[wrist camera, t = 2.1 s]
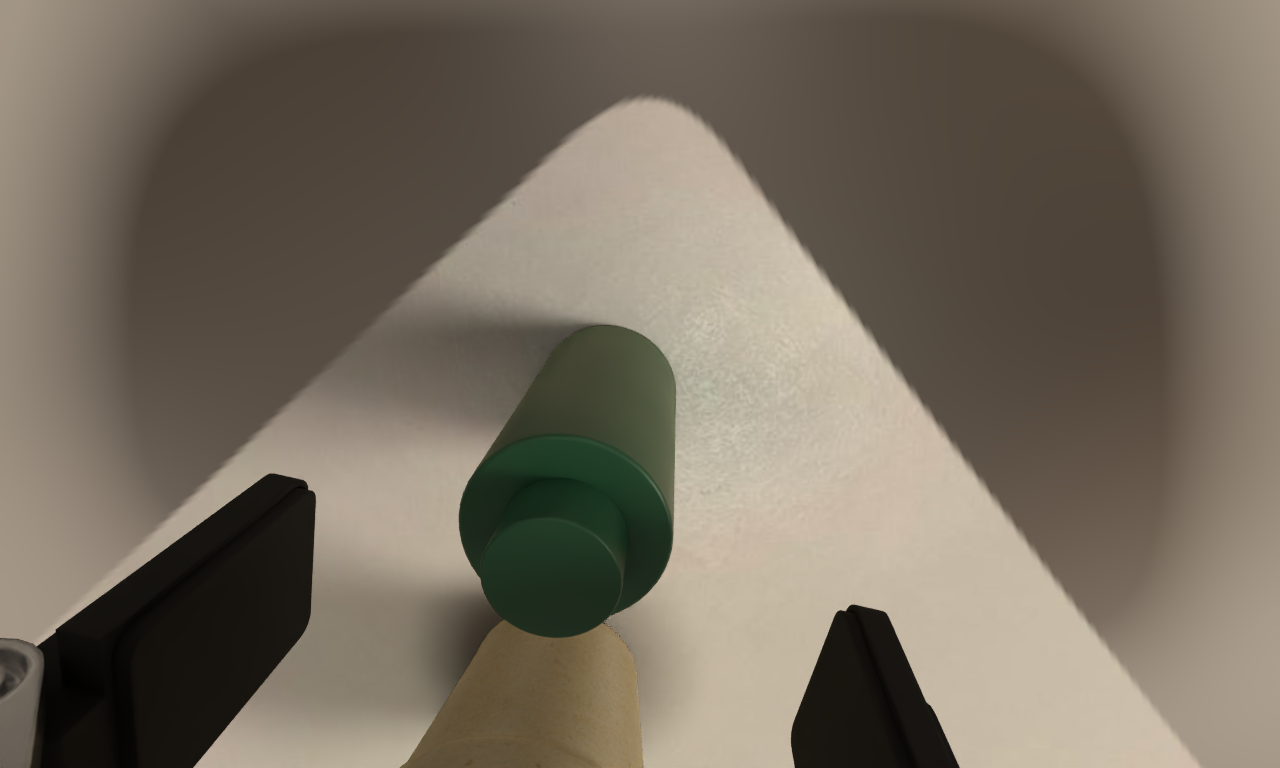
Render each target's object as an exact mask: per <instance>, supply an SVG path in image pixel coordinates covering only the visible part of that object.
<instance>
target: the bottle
mask: <svg viewBox="0 0 1280 768" xmlns="http://www.w3.org/2000/svg"><path fill="white" fill-rule="evenodd" d="M675 413H676V385H675V379H674V375H673V372H672V369H671V367H670V365H669V362H668V360H667V359H666V357H665V356H664V354H663V353H662V352H661V351H660V350H659V348H658V347H657V346H656V345H655V344H653V343H652V342H651V341H650V340H649V339H647V338H646V337H644V336H643V335H641V334H639V333H637V332H635V331H632V330H629V329H626V328H622V327H617V326H595V327H590V328H586V329H583V330H580V331H578V332H576V333H574V334H572V335H571V336H569V337H567V338H566V339H565V340H564V341H562V342H561V343H560V344H559V345H558V346H557V347H556V348H555V350H554V351H553V352H552V354H551V355H550V357H549V358H548V360H547V361H546V363H545V365H544V366H543V368H542V369H541V371H540V372H539V374H538V375H537V377H536V378H535V380H534V381H533V383H532V384H531V386H530V388H529V389H528V391H527V392H526V394H525V395H524V397H523V398H522V400H521V401H520V403H519V404H518V406H517V408H516V409H515V411H514V412H513V414H512V415H511V417H510V418H509V420H508V421H507V423H506V424H505V426H504V427H503V429H502V431H501V432H500V434H499V435H498V437H497V438H496V440H495V441H494V443H493V444H492V446H491V447H490V449H489V451H488V452H487V454H486V455H485V457H484V458H483V460H482V461H481V463H480V464H479V466H478V467H477V469H476V470H475V472H474V474H473V475H472V477H471V478H470V480H469V481H468V483H467V486H466V488H465V490H464V492H463V496H462V499H461V503H460V510H459V530H460V536H461V541H462V545H463V548H464V551H465V554H466V556H467V558H468V560H469V562H470V564H471V566H472V567H473V569H474V570H475V572H476V573H477V575H478V576H479V577H480V578H481V584H482V588H483V591H484V594H485V596H486V598H487V600H488V601H489V603H490V604H491V606H492V607H493V609H494V610H495V611H496V612H497V613H498V614H499V615H500V616H501V617H502V618H503V619H504V620H506V621H507V622H508V623H510V624H511V625H513V626H515V627H516V628H518V629H520V630H522V631H525V632H527V633H530V634H533V635H537V636H542V637H549V638H566V637H573V636H577V635H580V634H583V633H586V632H588V631H590V630H592V629H594V628H596V627H597V626H599V625H600V624H602V623H603V622H604V621H605V620H606V619H607V618H608V617H609V616H610V615H613V614H616V613H618V612H620V611H622V610H624V609H626V608H628V607H630V606H632V605H633V604H634V603H636V602H637V601H639V600H640V599H641V598H642V597H644V596H645V595H646V594H647V593H648V592H649V591H650V590H651V589H652V588H653V586H654V585H655V584H656V583H657V582H658V580H659V579H660V577H661V575H662V574H663V572H664V570H665V568H666V566H667V563H668V561H669V558H670V554H671V550H672V544H673V526H674V470H675Z"/></svg>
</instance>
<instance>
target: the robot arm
mask: <svg viewBox="0 0 1280 768" xmlns="http://www.w3.org/2000/svg"><path fill="white" fill-rule="evenodd" d="M315 507H316V495H315V493H314V492H313V491H310V490H308V485H307V483H306V482H305V481H304V480H300V479H296V478H291V477H287V476H283V475H278V474H268V475H266V476H264V477H263V478H262V479H260V480H259V481H258V482H256V483H255V484H254V485H252V486H251V487H249V488H248V489H247V490H245V491H244V492H243V493H241V494H240V495H239V496H237V497H236V498H234V499H233V500H232V501H230V502H229V503H228V504H226V505H225V506H224V507H222V508H221V509H219V510H218V511H217V512H215V513H214V514H213V515H211V516H210V517H209V518H207V519H206V520H204V521H203V522H202V523H200V524H199V525H198V526H196V527H195V528H194V529H192V530H191V531H189V532H188V533H187V534H185V535H184V536H183V537H181V538H180V539H179V540H177V541H176V542H174V543H173V544H172V545H170V546H169V547H168V548H166V549H165V550H164V551H162V552H161V553H159V554H158V555H157V556H155V557H154V558H153V559H151V560H150V561H149V562H147V563H146V564H144V565H143V566H142V567H140V568H139V569H138V570H136V571H135V572H134V573H132V574H131V575H129V576H128V577H127V578H125V579H124V580H123V581H121V582H120V583H119V584H117V585H116V586H114V587H113V588H112V589H110V590H109V591H108V592H106V593H105V594H104V595H102V596H101V597H99V598H98V599H97V600H95V601H94V602H93V603H91V604H90V605H89V606H87V607H86V608H84V609H83V610H82V611H80V612H79V613H78V614H76V615H75V616H74V617H72V618H71V619H69V620H68V621H67V622H65V623H64V624H63V625H61V626H60V627H59V628H57V629H56V633H54V634H53V635H52V636H50V637H49V638H48V639H46V640H45V641H43V642H42V643H41V644H39V645H38V646H37V647H36V646H35V645H34V644H32V643H29V642H26V641H23V640H20V639H6V638H0V768H193V767H194V766H195V765H196V764H197V762H198V761H199V760H200V759H201V758H202V756H203V755H204V754H205V753H206V752H207V750H208V749H209V748H210V747H211V745H212V744H213V743H214V742H215V741H216V739H217V738H218V737H219V736H220V735H221V733H222V732H223V731H224V730H225V728H226V727H227V726H228V725H229V724H230V722H231V721H232V720H233V719H234V718H235V716H236V715H237V714H238V713H239V711H240V710H241V709H242V708H243V707H244V705H245V704H246V703H247V702H248V701H249V699H250V698H251V697H252V696H253V694H254V693H255V692H256V691H257V690H258V688H259V687H260V686H261V685H262V684H263V682H264V681H265V680H266V679H267V677H268V676H269V675H270V674H271V673H272V671H273V670H274V669H275V668H276V666H277V665H278V664H279V663H280V662H281V660H282V659H283V658H284V657H285V656H286V654H287V653H288V652H289V651H290V649H291V648H292V647H293V646H294V645H295V643H296V642H297V641H298V640H299V639H300V637H301V636H302V634H303V633H304V631H305V629H306V627H307V625H308V622H309V619H310V613H311V594H312V572H313V550H314V529H315ZM791 747H792V753H793V759H794V765H795V768H960V767H959V765H958V763H957V761H956V759H955V756H954V754H953V752H952V750H951V747H950V745H949V743H948V741H947V739H946V736H945V734H944V732H943V730H942V727H941V725H940V723H939V721H938V718H937V716H936V714H935V712H934V711H933V709H932V707H931V706H930V705H929V704H928V703H926V701H925V699H924V696H923V694H922V692H921V689H920V687H919V685H918V683H917V680H916V678H915V676H914V674H913V671H912V669H911V667H910V664H909V662H908V660H907V658H906V655H905V653H904V651H903V649H902V646H901V644H900V642H899V640H898V637H897V635H896V633H895V630H894V628H893V626H892V624H891V621H890V619H889V617H888V615H887V614H886V613H885V612H883V611H880V610H875V609H871V608H867V607H862V606H858V605H850V606H849V607H848V608H847V610H846V611H841V610H840V611H838V612H837V613H836V615H835V617H834V619H833V622H832V624H831V627H830V630H829V632H828V635H827V637H826V640H825V642H824V645H823V648H822V650H821V653H820V655H819V658H818V661H817V663H816V666H815V668H814V671H813V673H812V676H811V679H810V681H809V684H808V686H807V689H806V692H805V694H804V697H803V699H802V702H801V704H800V707H799V710H798V712H797V715H796V717H795V720H794V723H793V726H792V732H791Z"/></svg>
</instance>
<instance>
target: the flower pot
mask: <svg viewBox="0 0 1280 768" xmlns="http://www.w3.org/2000/svg"><path fill="white" fill-rule="evenodd" d="M400 768H643V754H642V741H641V729H640V715H639V702H638V688H637V672H636V667H635V663H634V660H633V657H632V655H631V653H630V651H629V649H628V647H627V646H626V645H625V643H624V642H623V641H622V640H621V638H620V637H619V636H618V635H617V634H616V633H615V632H614V631H613V630H612V629H611V628H609V627H608V626H607V625H605V624H604V623H602V624H600V625H599V626H597V627H596V628H594V629H592V630H590V631H588V632H586V633H583V634H580V635H577V636H573V637H566V638H549V637H542V636H537V635H533V634H530V633H527V632H525V631H522V630H520V629H518V628H516V627H515V626H513V625H511V624H510V623H508V622H507V621H506V620H503V621H501V622H500V623H499V624H497V625H496V626H495V627H494V628H493V629H492V630H491V631H490V632H489V633H488V635H487V636H486V638H485V639H484V641H483V642H482V644H481V645H480V647H479V649H478V651H477V653H476V654H475V656H474V658H473V659H472V661H471V663H470V664H469V666H468V667H467V669H466V671H465V672H464V674H463V675H462V677H461V679H460V680H459V682H458V683H457V685H456V687H455V688H454V690H453V691H452V693H451V694H450V696H449V698H448V699H447V701H446V702H445V704H444V705H443V707H442V708H441V710H440V711H439V713H438V715H437V716H436V718H435V719H434V721H433V722H432V724H431V726H430V727H429V729H428V730H427V732H426V733H425V735H424V737H423V738H422V740H421V741H420V743H419V744H418V746H417V748H416V749H415V751H414V752H413V754H412V755H411V757H410V759H409V760H408V762H407V763H405V764H404V765H402V766H401V767H400Z"/></svg>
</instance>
